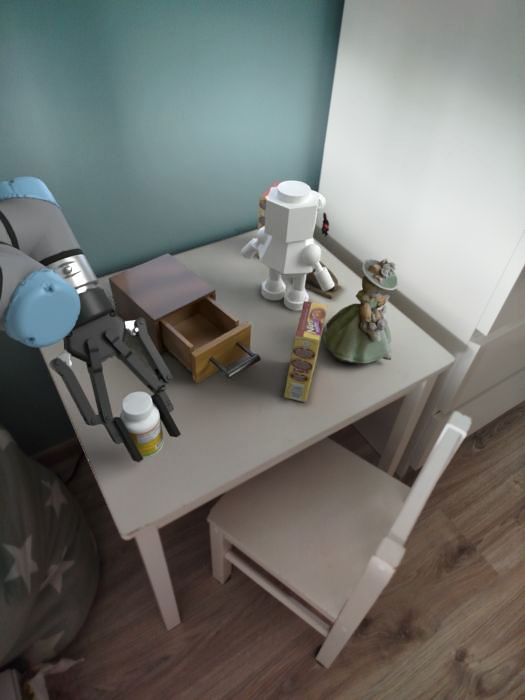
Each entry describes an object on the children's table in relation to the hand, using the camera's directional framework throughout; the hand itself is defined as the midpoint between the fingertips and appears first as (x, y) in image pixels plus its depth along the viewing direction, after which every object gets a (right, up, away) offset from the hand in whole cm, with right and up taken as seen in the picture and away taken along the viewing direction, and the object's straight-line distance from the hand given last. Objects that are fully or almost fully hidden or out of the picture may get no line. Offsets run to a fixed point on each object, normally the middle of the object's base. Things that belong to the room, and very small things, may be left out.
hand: (157, 447), depth 65 cm
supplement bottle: (-3, 0, +4) cm, 5 cm away
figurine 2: (+25, +29, +40) cm, 56 cm away
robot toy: (+19, +25, +36) cm, 48 cm away
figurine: (+33, +13, +26) cm, 44 cm away
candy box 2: (+21, +8, +19) cm, 30 cm away
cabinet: (-5, +20, +29) cm, 36 cm away
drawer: (+5, +13, +22) cm, 26 cm away
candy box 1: (+17, +38, +49) cm, 64 cm away
